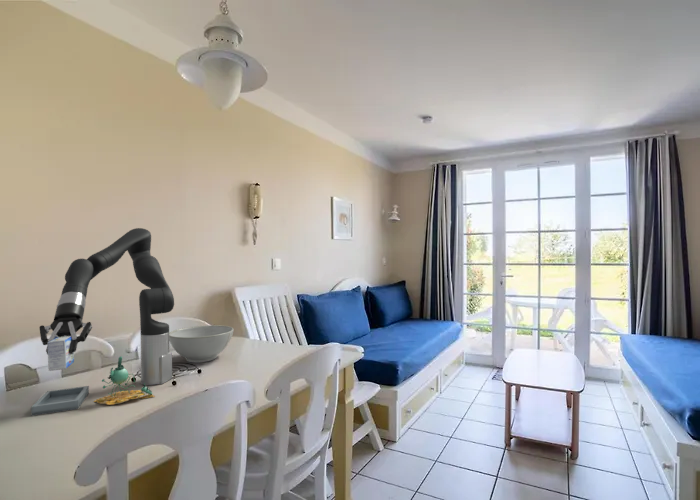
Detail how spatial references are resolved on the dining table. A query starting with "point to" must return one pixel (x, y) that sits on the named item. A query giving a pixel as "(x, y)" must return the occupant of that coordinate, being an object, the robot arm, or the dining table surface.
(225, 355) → the dining table surface
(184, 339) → the decorative bowl
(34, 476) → the dining table surface
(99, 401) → the frog figurine
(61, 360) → the medicine box
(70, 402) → the tray
